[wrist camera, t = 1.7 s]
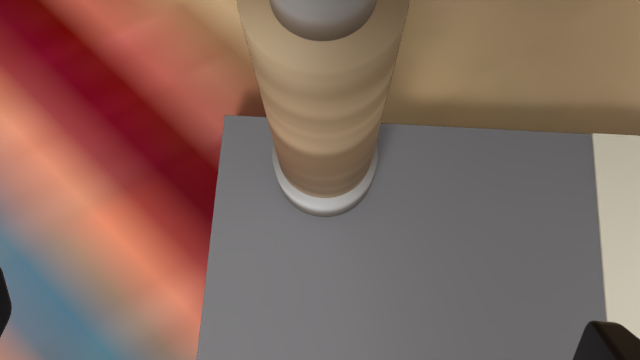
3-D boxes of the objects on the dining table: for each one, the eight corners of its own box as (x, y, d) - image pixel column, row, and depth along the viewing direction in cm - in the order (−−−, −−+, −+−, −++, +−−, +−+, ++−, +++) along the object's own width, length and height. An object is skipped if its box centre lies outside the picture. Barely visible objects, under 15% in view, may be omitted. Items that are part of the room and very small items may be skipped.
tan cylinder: (371, 219, 20) (429, 58, 9) (273, 214, 20) (203, 48, 9) (374, 127, 21) (430, -125, 10) (281, 122, 21) (227, -132, 10)
